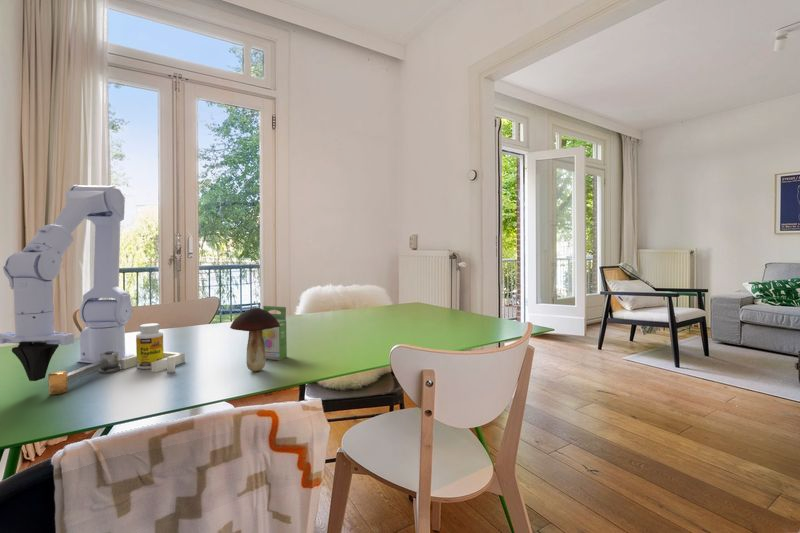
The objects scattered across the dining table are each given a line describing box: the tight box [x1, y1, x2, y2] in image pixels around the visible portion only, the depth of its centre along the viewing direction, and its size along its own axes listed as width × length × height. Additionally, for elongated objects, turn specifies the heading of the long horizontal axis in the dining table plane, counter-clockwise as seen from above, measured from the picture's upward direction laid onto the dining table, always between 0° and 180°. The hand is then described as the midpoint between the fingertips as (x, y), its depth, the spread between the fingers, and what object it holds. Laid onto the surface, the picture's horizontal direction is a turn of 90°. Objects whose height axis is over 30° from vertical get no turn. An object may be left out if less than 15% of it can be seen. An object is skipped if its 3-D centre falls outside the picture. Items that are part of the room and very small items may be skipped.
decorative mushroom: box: [229, 307, 280, 373], centre depth 93 cm, size 11×11×15 cm
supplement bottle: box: [135, 322, 164, 370], centre depth 96 cm, size 6×6×10 cm
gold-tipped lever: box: [48, 351, 120, 395], centre depth 86 cm, size 17×4×4 cm, turn 0°
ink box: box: [262, 305, 288, 361], centre depth 104 cm, size 7×4×13 cm, turn 75°
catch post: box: [166, 356, 176, 374], centre depth 92 cm, size 2×2×4 cm
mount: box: [98, 365, 121, 375], centre depth 93 cm, size 4×4×1 cm
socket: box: [119, 350, 186, 373], centre depth 97 cm, size 10×9×2 cm
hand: (37, 379), depth 79 cm, fingers closed
